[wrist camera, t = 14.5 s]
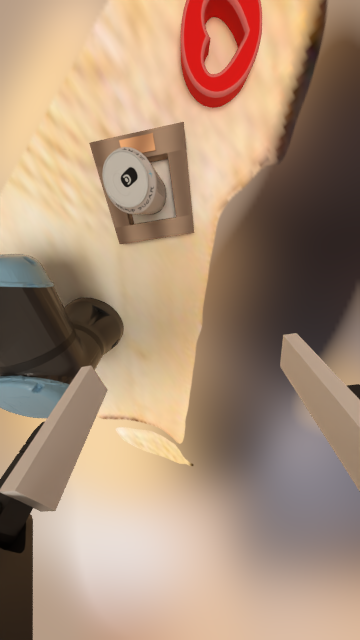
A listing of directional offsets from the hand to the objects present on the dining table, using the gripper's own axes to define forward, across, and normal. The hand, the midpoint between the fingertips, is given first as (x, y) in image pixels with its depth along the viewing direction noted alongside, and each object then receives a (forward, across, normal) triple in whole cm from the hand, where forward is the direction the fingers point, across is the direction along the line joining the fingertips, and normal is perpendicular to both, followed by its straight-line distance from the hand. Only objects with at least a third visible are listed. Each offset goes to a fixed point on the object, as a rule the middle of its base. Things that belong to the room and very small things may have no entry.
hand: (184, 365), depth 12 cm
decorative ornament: (+30, +10, +26) cm, 41 cm away
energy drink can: (+30, -3, +13) cm, 33 cm away
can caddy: (+29, -3, +13) cm, 32 cm away
